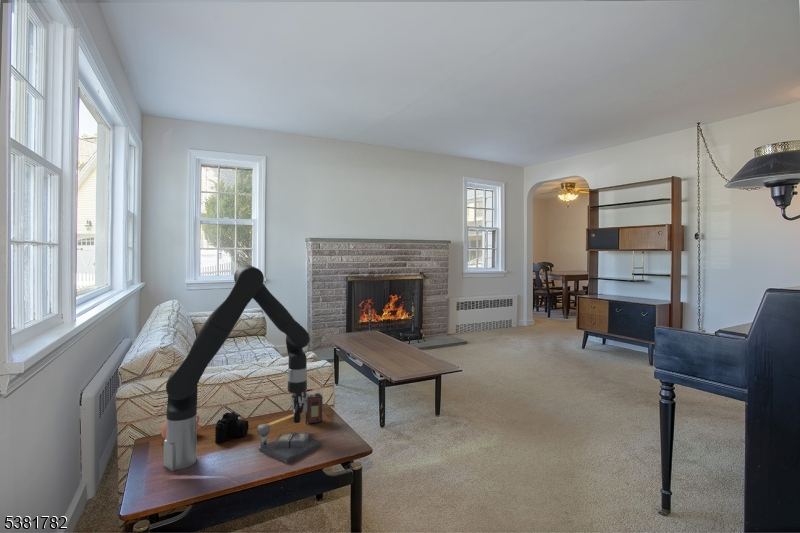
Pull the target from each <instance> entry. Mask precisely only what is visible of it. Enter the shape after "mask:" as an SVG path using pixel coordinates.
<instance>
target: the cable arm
mask: <svg viewBox="0 0 800 533" xmlns="http://www.w3.org/2000/svg"><path fill="white" fill-rule="evenodd" d="M301 420H302V413H300V421H301ZM294 423H295V422H294V413H292V414H289V415H286V416H284V417H282V418H279V419H277V420H273V421H271V422H269V423H262V424H259V425H258V426H257V435H258V436H260V435H267V436H268V435H269V434H271V432H273V431H275V430H278V429H280V428H283V427H286V426H288V425H291V424H294Z"/></svg>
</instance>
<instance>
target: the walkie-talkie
mask: <svg viewBox="0 0 800 533" xmlns="http://www.w3.org/2000/svg"><path fill="white" fill-rule="evenodd" d="M302 393H303V394H302V396H303V401H302V403H304V406H303V410H304V413H305V424H306V425H307V424H313V423H314V424H315V423H316V424H317V423H321V422H322V421H323V398H324V397H323V396H322V394H321V393H320V392H315V394H312V393H310V394H309V395H307V390H306V391H305V392H302Z"/></svg>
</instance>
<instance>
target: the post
mask: <svg viewBox="0 0 800 533" xmlns="http://www.w3.org/2000/svg"><path fill="white" fill-rule="evenodd" d="M259 437H260V438H259V439H260V440H259V442H260V444H259V445H257V450H260V446H262V445H265V444H267V443H268V434H267V435H259Z"/></svg>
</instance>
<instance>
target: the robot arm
mask: <svg viewBox="0 0 800 533" xmlns="http://www.w3.org/2000/svg"><path fill="white" fill-rule="evenodd" d="M233 279H234V282H235V283H234V286H233V287H232V289H231V290H230V293H229V294H228V296H227V297H226V298H225V300H224V301H222V302H221V304H220V305H218V306H217V307H216V308H215V309H214V310H213V311H212V313H210V315H209V316H208V317H207V319H206V320H205V322H204V324H203V325H202V327H201V328H200V330H199V332H198V333H197V336H196V337H195V339H194V341H193V343H192V346H191V347H190V350H189V352H188V354H187V356H186V358H184V360H183V362H181V365H179V367H178V368H177V369H175V370H174V371H172V373H170V375H169V376H168V379H167V381H166V384H165V390H166V393H167V394H166V395H167V406H166V420H167V431H166V439H164V440H163V467H165V468H166V469H168V470H169V471H171V472H174V471H176V470H183V469H186V468H189V467H191V466H193V465H194V464H195V463H196V462H197V440H198V439H197V438H198V437H197V436H198V435H197V431H198V430H197V428H198V426H197V415H198V414H197V413H198V384H199V383H200V380H201V377H202V376H203V374H204V372H205V370H206V369H207V368H208V365H210V364H209V363H211V361H212V360H213V358H214V357H215V356H216V355H217V354H218V353H219V351H220V349H221V348H222V347H223V345H224V344H225V342H226V341H227V339H228V338H229V336H230V334H231V332H232V331H233V329H234V328H235V326H236V324H237V323H238V321H239V320H240V318H241V316H242V315H243V313H244V311H245V309H246V308H247V306H248V305H249V303H250V302H251V301H252V300H254V301H255V302H256V303H257V305H258V306H259V307H260V308H261V310H262V311H263V312H264V313H265V315H267V317H268V318H269V320H270V321H271V322H272V324H273V325H274V326H275V327H276V328H277V330H279V331H280V332H282V333H283V334H285V345H286V346H285V347H286V352H287V355H288V369H287V392H288V393H290V394H291V395H290V399H291V406H292V408H291V409H292V412H293V414H294V422H293V423H295V424H299V423H300V422H301V420H300V413H301V414H302V413H303V410H304V409H303V406H304V403H302V401H303V394H302V393H303V392H305V391H306V392H307V389H308V371H307V368H308V367H307V360H308V359H307V354H306V353H305V352H304V349H303V348H305V347H307V346H308V345H309V343H310V340H311V339H310V335H309V332H308V331H307V330H306V328H304V327H303V326H302V325H301V324H300V323H299V322H298V321H297V320H296V319H294V316H292V314H291V313H290V312H289V311H288V309H287V308H286V307H285V306H284V305H283V304H282V302H280V301H279V300H278V299H277V298H276V297H275V296H274V295H273V293H271V292H270V291H269V289H268V288H267V286H266V285H265V284H264V281H265V278H264V274H263V272H262V270H260V269H259V268H257V267H256V266H253V265H249V264H247V265H246V264H244V265H241V266H239V267H237V268H236V269H235V271H234V273H233Z"/></svg>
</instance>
